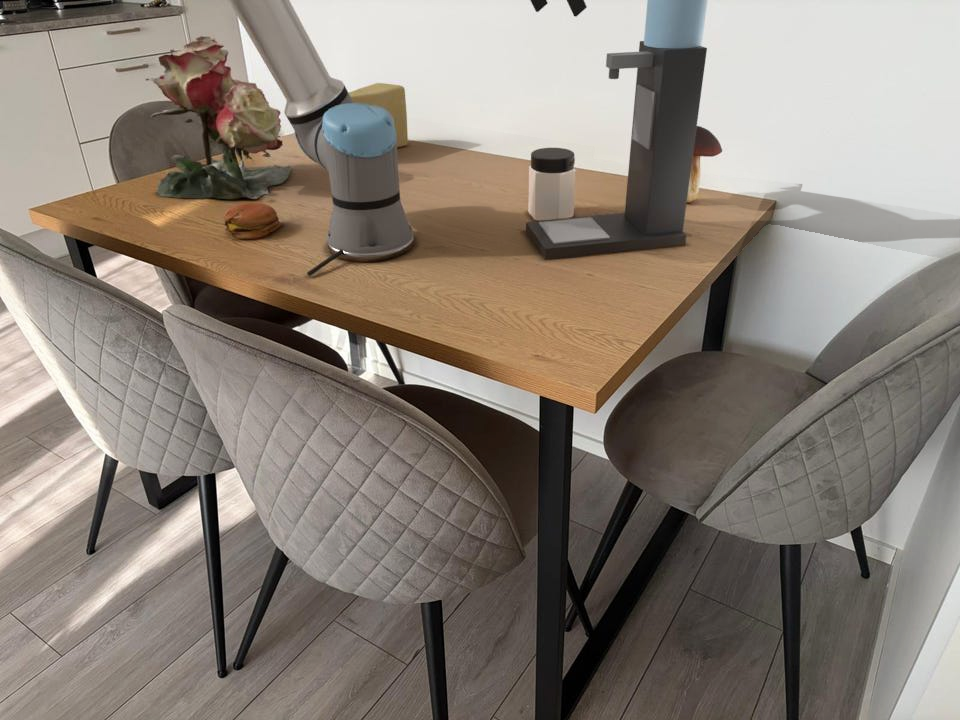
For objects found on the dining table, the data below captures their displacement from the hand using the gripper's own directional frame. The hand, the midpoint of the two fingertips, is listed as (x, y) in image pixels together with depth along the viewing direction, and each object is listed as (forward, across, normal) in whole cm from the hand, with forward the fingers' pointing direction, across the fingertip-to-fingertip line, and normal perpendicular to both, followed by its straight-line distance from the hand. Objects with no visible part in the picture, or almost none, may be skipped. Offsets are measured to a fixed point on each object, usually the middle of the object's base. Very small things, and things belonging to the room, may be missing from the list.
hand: (560, 9), depth 141 cm
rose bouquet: (-4, +39, +69) cm, 79 cm away
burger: (-5, +6, +72) cm, 73 cm away
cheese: (+14, +44, +41) cm, 62 cm away
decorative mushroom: (+38, -23, +5) cm, 45 cm away
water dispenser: (+25, -31, +26) cm, 47 cm away
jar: (+24, -15, +28) cm, 40 cm away
